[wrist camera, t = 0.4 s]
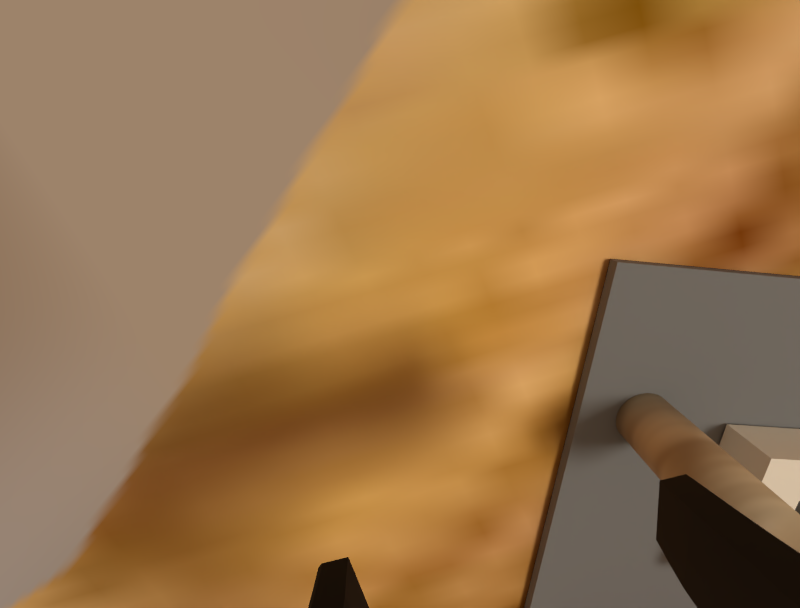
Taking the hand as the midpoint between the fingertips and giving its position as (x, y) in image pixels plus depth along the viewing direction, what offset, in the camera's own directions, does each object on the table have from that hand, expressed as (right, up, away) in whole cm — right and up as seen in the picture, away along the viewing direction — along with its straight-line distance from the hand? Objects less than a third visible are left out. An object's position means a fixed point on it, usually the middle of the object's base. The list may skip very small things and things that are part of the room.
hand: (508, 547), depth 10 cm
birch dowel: (+9, 0, +10) cm, 13 cm away
